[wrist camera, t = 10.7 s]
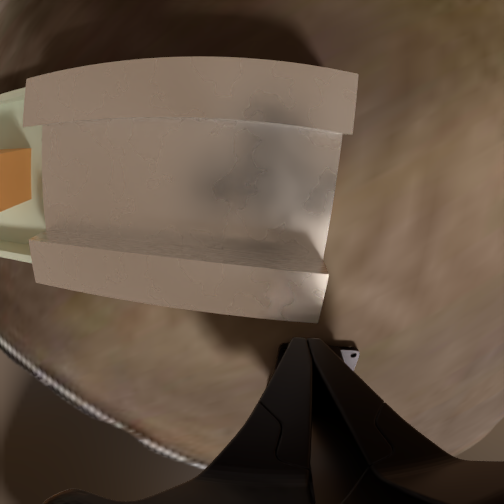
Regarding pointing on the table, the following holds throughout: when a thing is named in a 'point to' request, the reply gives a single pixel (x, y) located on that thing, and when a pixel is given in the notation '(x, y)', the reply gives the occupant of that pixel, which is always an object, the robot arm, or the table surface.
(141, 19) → the table surface
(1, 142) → the tray
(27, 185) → the peach toy brick
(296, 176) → the slot rail
